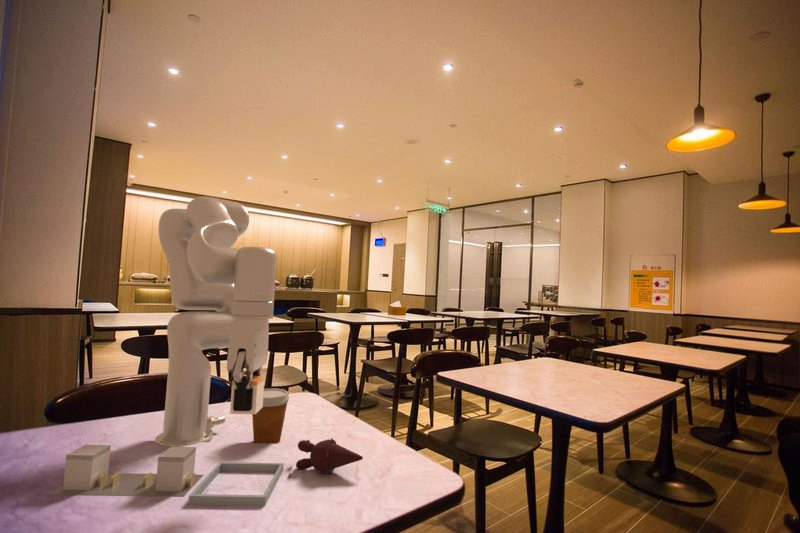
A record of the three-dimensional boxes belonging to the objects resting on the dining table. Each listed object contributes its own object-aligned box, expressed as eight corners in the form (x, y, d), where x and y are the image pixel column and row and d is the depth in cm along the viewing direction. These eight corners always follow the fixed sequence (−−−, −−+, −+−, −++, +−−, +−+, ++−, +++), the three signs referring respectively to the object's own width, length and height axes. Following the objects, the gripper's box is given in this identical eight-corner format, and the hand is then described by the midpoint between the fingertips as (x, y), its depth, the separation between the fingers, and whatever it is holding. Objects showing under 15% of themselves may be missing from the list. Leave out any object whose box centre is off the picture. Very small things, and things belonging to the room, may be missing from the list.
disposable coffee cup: (263, 452, 89) (267, 400, 90) (238, 442, 94) (242, 393, 95) (294, 440, 97) (297, 392, 98) (270, 431, 102) (273, 386, 103)
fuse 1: (82, 476, 73) (85, 444, 73) (107, 477, 73) (110, 445, 73) (62, 489, 68) (66, 455, 69) (89, 489, 68) (93, 455, 69)
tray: (218, 473, 78) (219, 461, 78) (283, 475, 79) (283, 463, 79) (187, 510, 65) (189, 495, 65) (264, 511, 66) (265, 497, 66)
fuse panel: (82, 477, 74) (83, 464, 74) (203, 479, 76) (204, 466, 76) (47, 500, 66) (48, 484, 66) (183, 502, 68) (184, 487, 68)
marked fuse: (238, 406, 75) (240, 375, 75) (262, 407, 75) (264, 376, 76) (230, 413, 70) (232, 380, 71) (255, 414, 71) (257, 381, 71)
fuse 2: (169, 478, 74) (171, 446, 74) (193, 478, 74) (196, 447, 74) (155, 490, 69) (158, 456, 70) (181, 491, 69) (184, 457, 70)
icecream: (368, 437, 85) (305, 435, 88) (358, 441, 78) (290, 438, 81) (367, 472, 82) (302, 469, 85) (356, 479, 76) (287, 475, 79)
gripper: (248, 308, 82) (242, 394, 81) (215, 311, 66) (207, 420, 64) (283, 309, 83) (278, 395, 82) (259, 313, 66) (253, 421, 65)
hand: (247, 405), depth 73 cm, fingers closed on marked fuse, 4 cm apart
